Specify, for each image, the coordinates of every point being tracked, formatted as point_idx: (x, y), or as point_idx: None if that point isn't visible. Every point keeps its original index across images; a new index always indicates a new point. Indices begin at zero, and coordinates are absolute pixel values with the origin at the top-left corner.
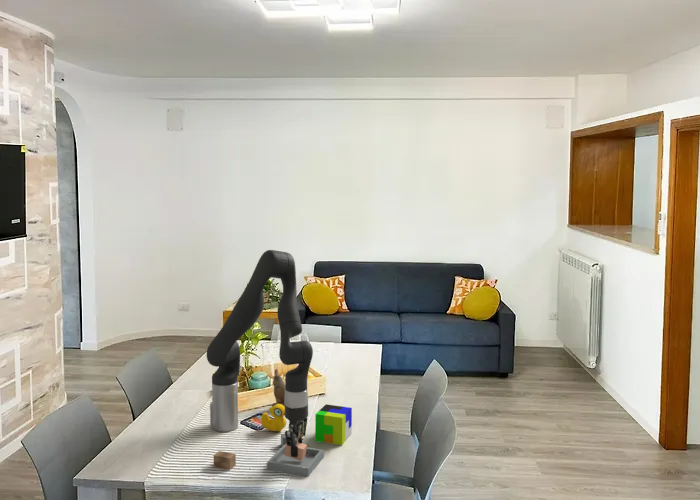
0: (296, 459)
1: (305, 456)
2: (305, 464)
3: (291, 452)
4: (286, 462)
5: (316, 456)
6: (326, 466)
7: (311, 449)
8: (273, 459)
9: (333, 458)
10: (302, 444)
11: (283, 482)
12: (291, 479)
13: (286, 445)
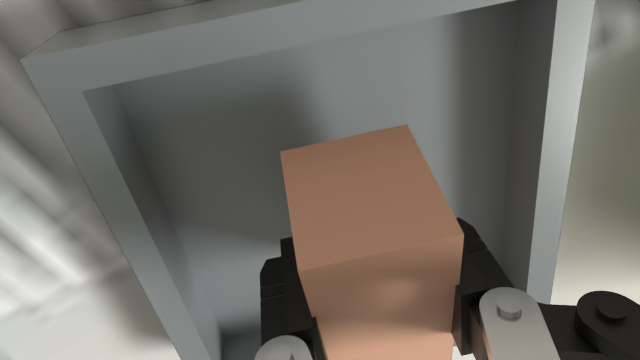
0: None
1: (464, 201)
2: None
3: (261, 293)
4: (283, 135)
5: None
6: None
7: (529, 257)
8: (148, 74)
9: None
10: (431, 346)
11: (6, 282)
12: (91, 297)
13: (296, 257)
